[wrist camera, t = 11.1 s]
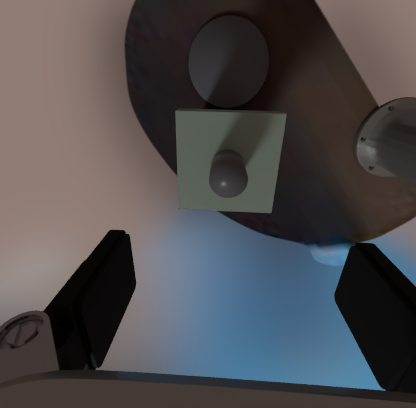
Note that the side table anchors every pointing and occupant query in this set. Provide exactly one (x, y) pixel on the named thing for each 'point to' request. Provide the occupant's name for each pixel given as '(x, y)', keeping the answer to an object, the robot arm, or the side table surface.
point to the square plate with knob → (228, 158)
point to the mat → (228, 61)
